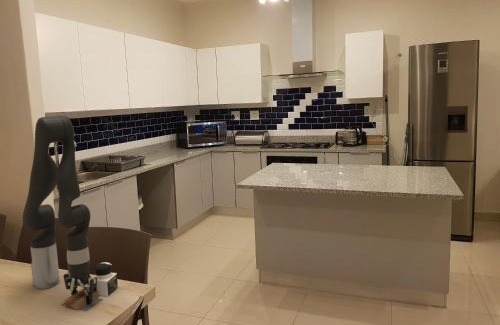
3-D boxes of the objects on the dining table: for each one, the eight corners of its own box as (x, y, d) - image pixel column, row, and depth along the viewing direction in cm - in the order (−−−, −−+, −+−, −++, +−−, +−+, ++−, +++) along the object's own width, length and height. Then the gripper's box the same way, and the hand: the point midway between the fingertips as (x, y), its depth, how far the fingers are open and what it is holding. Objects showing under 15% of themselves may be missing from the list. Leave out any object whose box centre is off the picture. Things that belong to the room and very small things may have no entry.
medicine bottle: (108, 298, 153) (106, 269, 151) (91, 296, 154) (89, 267, 152) (118, 289, 160) (116, 261, 158) (102, 287, 161) (99, 260, 159)
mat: (60, 307, 147) (60, 305, 146) (79, 296, 155) (78, 293, 155) (86, 313, 142) (86, 311, 142) (103, 301, 151) (103, 299, 151)
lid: (65, 307, 145) (64, 297, 144) (85, 294, 154) (84, 284, 153) (78, 310, 143) (77, 300, 142) (98, 297, 152) (97, 287, 151)
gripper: (55, 260, 145) (59, 303, 148) (86, 266, 140) (90, 310, 142) (71, 252, 152) (74, 293, 154) (101, 258, 146) (104, 300, 149)
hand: (82, 301), depth 148 cm, fingers closed on lid, 6 cm apart
